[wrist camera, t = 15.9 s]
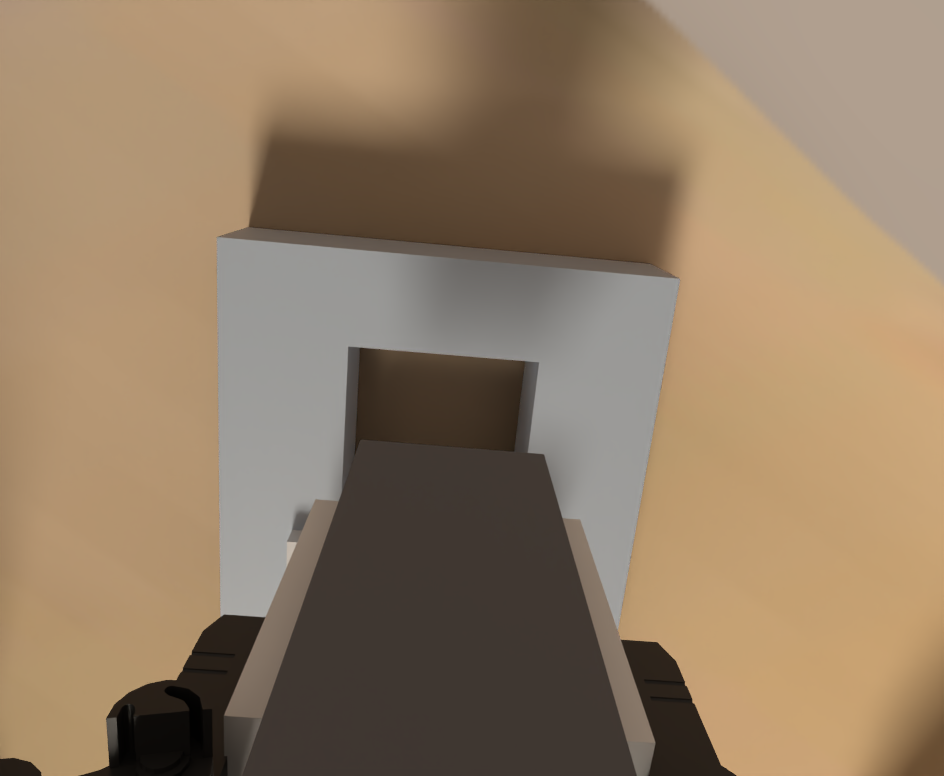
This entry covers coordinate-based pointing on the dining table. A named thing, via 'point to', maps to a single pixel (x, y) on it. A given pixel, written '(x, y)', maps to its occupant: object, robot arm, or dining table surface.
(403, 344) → the socket plate
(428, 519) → the plug
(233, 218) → the dining table surface
